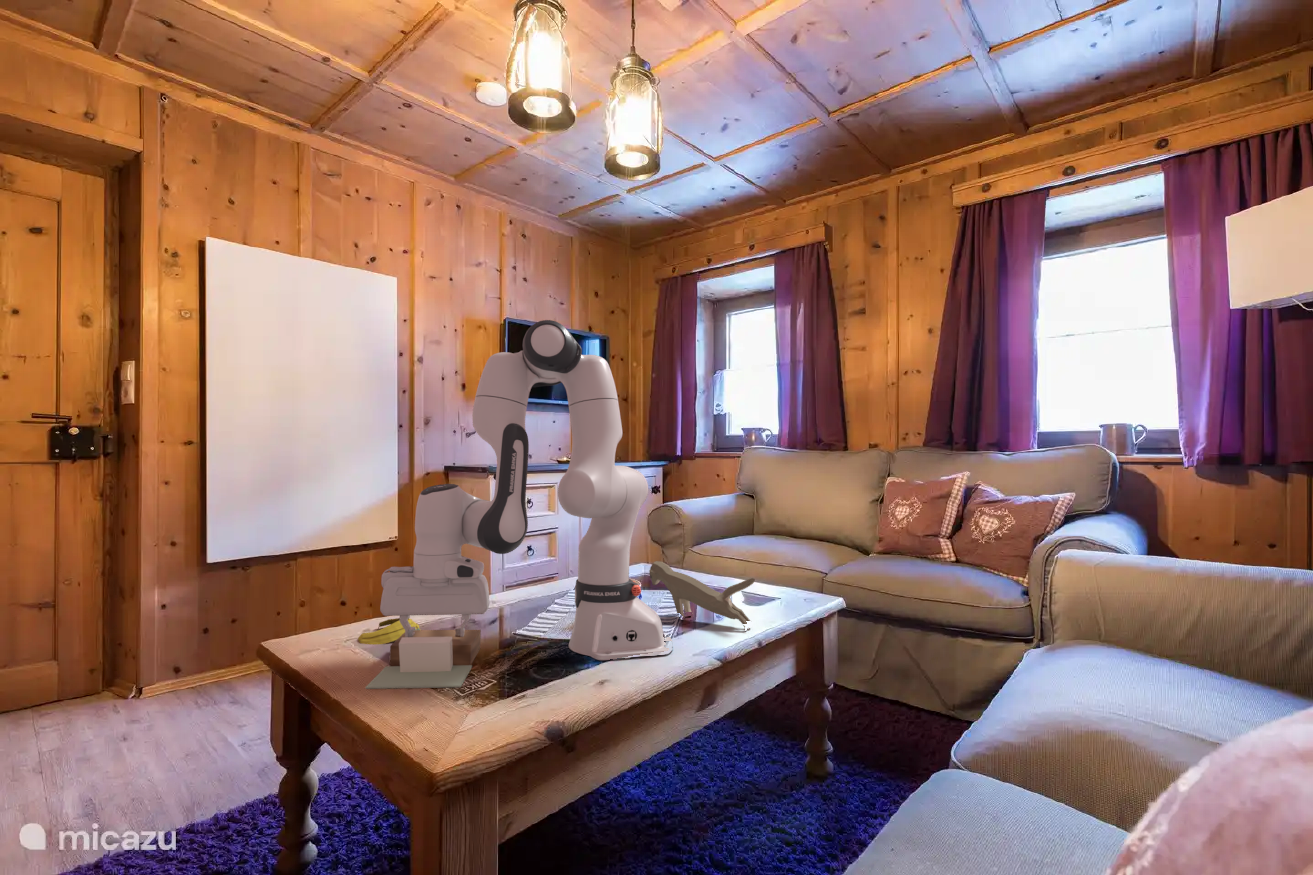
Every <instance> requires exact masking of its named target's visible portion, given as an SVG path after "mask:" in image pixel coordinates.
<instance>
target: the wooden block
mask: <svg viewBox="0 0 1313 875" xmlns="http://www.w3.org/2000/svg"><path fill="white" fill-rule="evenodd" d="M455 630H456V629H420V630H415V631H414V632H415V636H414V637H452V651H453V665H472V664H473V662H474V661H475V658H476V657H477V655H478V653H479V652H480V650H481V638H482V636H481V634H482V633H481V632H482V631H481V629H465V630H464V636H463V637H455V634H456V632H455ZM402 637H405V633H404V634H402V635H401V636H400V637H399V638H398V639H397V640H395V641H393V643H391V644H390V647H389V666H400V657H399V642H400V640H401V638H402Z"/></svg>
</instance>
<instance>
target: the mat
mask: <svg viewBox="0 0 1313 875" xmlns="http://www.w3.org/2000/svg"><path fill="white" fill-rule="evenodd" d="M471 669H473V665H472V664H471V665H453V666H452V669H451V671H440V672H400V666H390V665H388V666H385V667H384V668H383V669H382V670H381V671H380V672H379V673H378V674H377V675H376V676H375V677H374V678H373V679H372V680H371V681H370V682H369V683H368V684H367V685H366V686H365V689H367V690H371V689H372V690H374V689H380V690H381V689H425V688H426V689H427V688H429V689H430V688H431V689H433V688H438V689H439V688H441V689H442V688H461V687H462V686H463V683H464V682H465V680H466V678H467V677H468V675H469V673H470V672H471Z"/></svg>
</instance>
